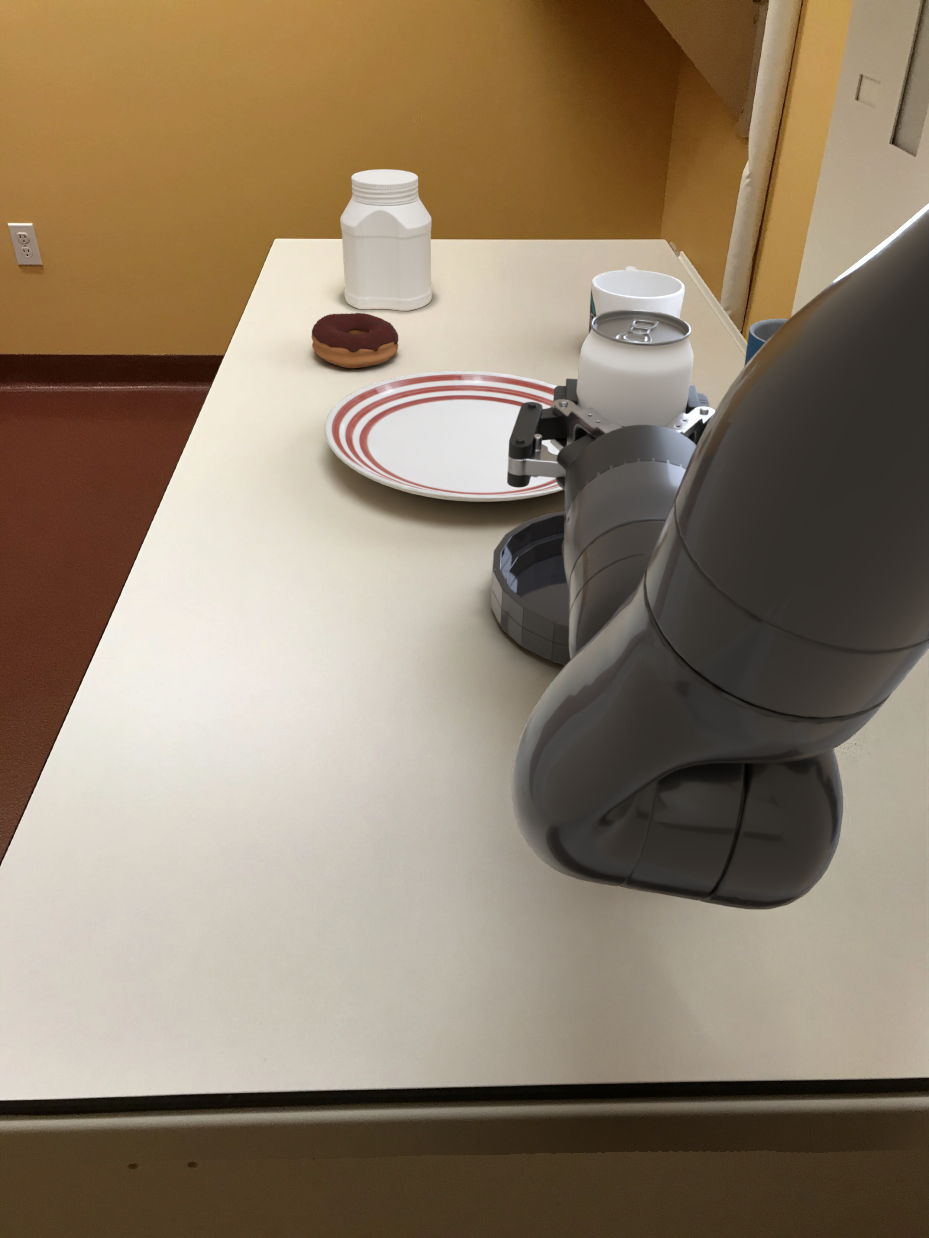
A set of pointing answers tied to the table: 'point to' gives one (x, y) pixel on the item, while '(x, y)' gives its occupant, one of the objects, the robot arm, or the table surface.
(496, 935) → the table surface
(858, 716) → the robot arm
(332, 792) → the table surface
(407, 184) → the jar
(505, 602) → the pan
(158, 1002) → the table surface
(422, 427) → the dinner plate
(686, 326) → the can
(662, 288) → the mug
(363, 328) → the donut
